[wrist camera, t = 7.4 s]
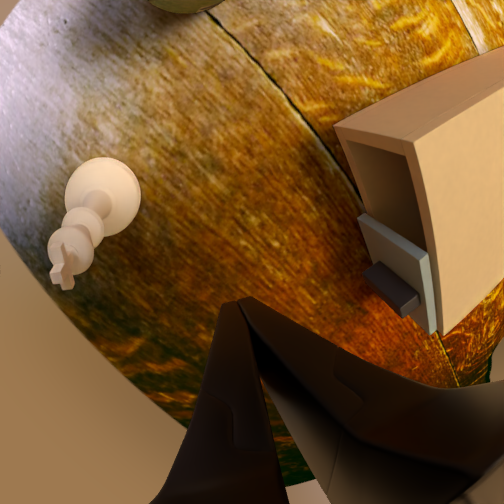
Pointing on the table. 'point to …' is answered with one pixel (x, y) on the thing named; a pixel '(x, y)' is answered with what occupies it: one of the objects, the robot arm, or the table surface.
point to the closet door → (399, 273)
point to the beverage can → (185, 5)
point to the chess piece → (92, 215)
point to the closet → (439, 176)
